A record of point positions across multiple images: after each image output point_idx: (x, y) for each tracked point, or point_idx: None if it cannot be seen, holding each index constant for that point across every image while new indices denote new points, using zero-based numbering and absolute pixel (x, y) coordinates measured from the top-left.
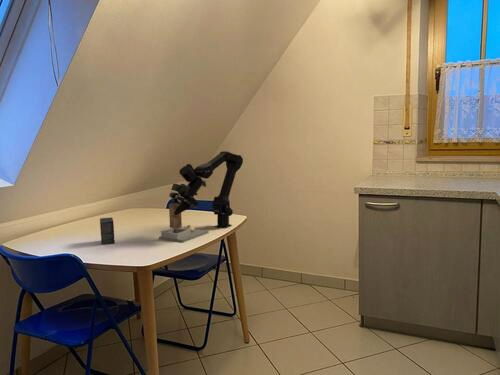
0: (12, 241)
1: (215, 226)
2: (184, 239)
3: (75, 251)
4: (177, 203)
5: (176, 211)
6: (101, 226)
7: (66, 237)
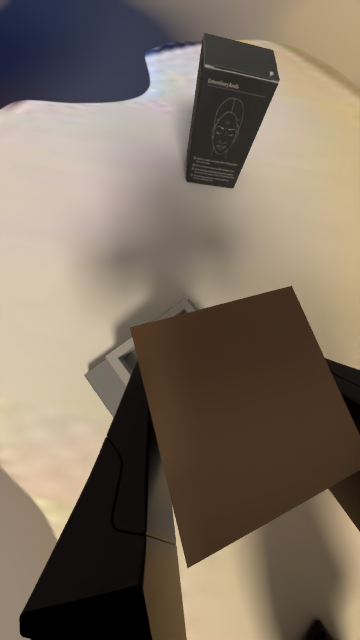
0: (283, 51)
1: (316, 623)
2: (93, 384)
3: (149, 104)
4: (324, 476)
5: (131, 378)
6: (198, 70)
7: (288, 117)
